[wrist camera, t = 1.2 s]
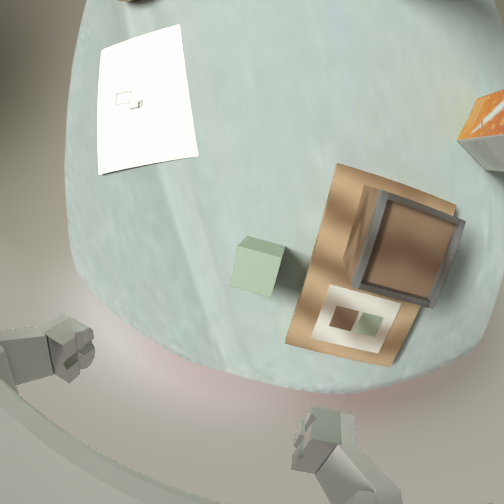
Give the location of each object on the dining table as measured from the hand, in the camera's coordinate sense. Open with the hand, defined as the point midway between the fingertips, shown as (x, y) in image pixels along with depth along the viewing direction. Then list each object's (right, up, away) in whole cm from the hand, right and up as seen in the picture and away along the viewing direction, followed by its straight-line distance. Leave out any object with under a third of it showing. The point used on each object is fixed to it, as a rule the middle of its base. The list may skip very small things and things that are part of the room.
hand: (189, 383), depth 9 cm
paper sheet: (-8, +26, +25) cm, 37 cm away
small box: (+33, +20, +18) cm, 42 cm away
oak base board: (+17, +2, +26) cm, 32 cm away
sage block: (+3, +3, +29) cm, 29 cm away
